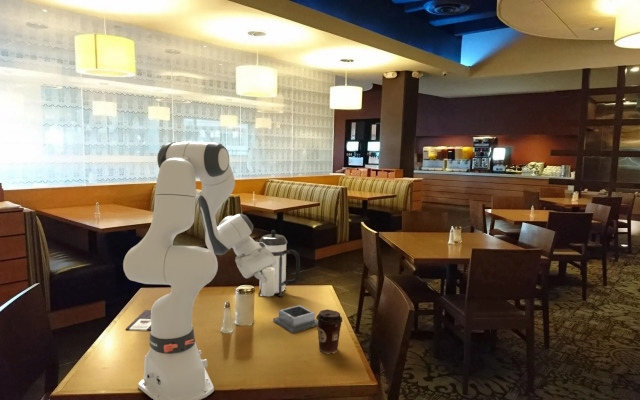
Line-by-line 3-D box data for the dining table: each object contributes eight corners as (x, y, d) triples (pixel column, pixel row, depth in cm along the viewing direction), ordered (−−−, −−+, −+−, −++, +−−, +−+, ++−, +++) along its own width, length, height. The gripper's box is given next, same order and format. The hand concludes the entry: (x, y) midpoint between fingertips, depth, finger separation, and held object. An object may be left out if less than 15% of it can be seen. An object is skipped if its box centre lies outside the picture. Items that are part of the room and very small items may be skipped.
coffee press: (267, 301, 185) (268, 234, 181) (250, 291, 198) (251, 228, 194) (300, 294, 195) (301, 231, 192) (282, 285, 208) (283, 225, 204)
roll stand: (320, 324, 162) (320, 313, 161) (292, 333, 154) (292, 320, 153) (300, 314, 172) (300, 303, 171) (273, 321, 164) (273, 309, 163)
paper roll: (276, 294, 164) (277, 269, 162) (265, 297, 160) (266, 271, 159) (269, 291, 167) (270, 266, 166) (259, 293, 164) (259, 268, 163)
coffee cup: (318, 357, 136) (320, 318, 135) (312, 345, 144) (313, 309, 143) (344, 354, 139) (345, 316, 137) (336, 343, 147) (337, 307, 145)
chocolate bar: (167, 310, 170) (150, 329, 152) (167, 312, 170) (150, 331, 152) (145, 310, 170) (125, 328, 152) (145, 312, 170) (125, 331, 152)
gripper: (238, 252, 155) (260, 282, 152) (266, 242, 174) (287, 268, 171) (228, 262, 157) (249, 292, 155) (257, 251, 176) (277, 277, 173)
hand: (269, 279), depth 163 cm, fingers closed on paper roll, 5 cm apart
